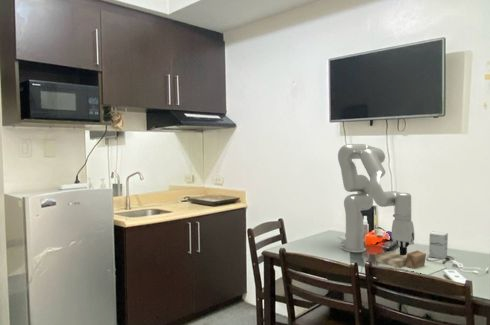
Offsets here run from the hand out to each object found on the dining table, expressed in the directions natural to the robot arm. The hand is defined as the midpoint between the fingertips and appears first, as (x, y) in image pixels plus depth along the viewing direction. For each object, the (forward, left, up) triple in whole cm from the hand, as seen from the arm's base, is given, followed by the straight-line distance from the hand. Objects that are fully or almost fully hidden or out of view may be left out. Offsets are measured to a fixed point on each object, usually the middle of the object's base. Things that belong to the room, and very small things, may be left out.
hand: (403, 254), depth 191 cm
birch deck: (-4, 0, -5) cm, 6 cm away
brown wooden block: (+7, -1, -1) cm, 7 cm away
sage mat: (+10, 0, -5) cm, 11 cm away
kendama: (-33, +33, -5) cm, 47 cm away
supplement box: (+4, +26, -5) cm, 27 cm away
